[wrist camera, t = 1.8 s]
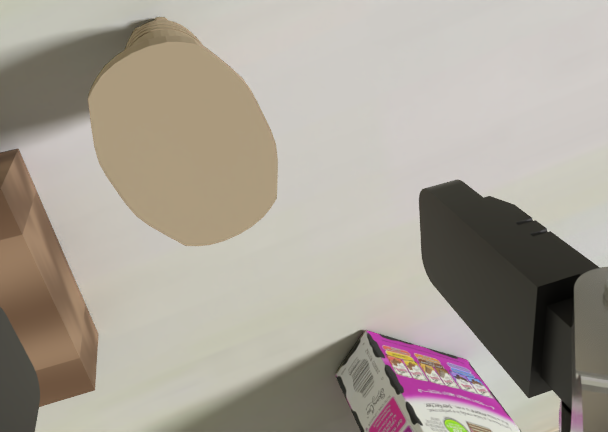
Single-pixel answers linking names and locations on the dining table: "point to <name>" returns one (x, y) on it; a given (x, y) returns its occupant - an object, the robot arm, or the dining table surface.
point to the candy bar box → (416, 390)
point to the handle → (182, 137)
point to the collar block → (42, 290)
